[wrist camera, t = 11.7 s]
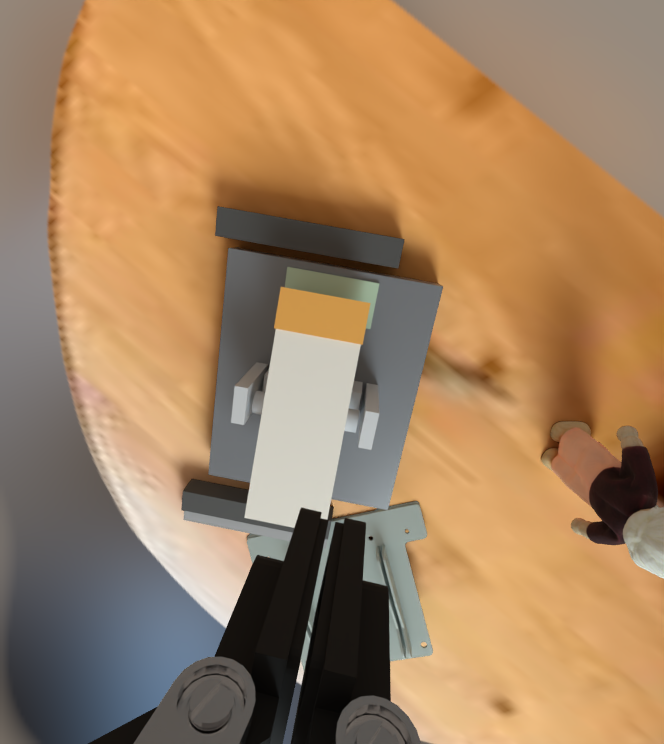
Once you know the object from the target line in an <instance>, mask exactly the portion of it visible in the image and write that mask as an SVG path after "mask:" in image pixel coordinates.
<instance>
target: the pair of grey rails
mask: <svg viewBox="0 0 664 744" xmlns="http://www.w3.org/2000/svg"><path fill="white" fill-rule="evenodd" d="M215 236H220V237H225V238H231V239H237V240H242V241H248V242H253V243H259V244H264V245H270V246H276V247H281V248H287V249H292V250H298V251H303V252H309V253H315V254H320V255H326V256H331V257H337V258H342V259H348V260H354V261H359V262H365V263H370V264H376V265H381V266H387V267H393V268H398V267H399V263H400V258H401V253H402V249H403V244H404V239H400V238H394V237H388V236H383V235H377V234H371V233H366V232H360V231H354V230H349V229H343V228H337V227H332V226H326V225H320V224H315V223H309V222H303V221H298V220H292V219H287V218H281V217H275V216H270V215H264V214H258V213H253V212H247V211H241V210H236V209H230V208H224V207H219V206H218V207H217V220H216V233H215ZM248 493H249V490H245V489H240V488H235V487H230V486H225V485H220V484H215V483H210V482H205V481H200V480H195V479H192V480H191V481H190V482H189V484H188V485H187V486H186V488H185V489H184V490H183V496H182V510H183V511H184V520H187V521H192V522H197V523H202V524H207V525H212V526H216V527H221V528H226V529H231V530H236V531H241V532H246V533H251V534H256V535H261V536H266V537H271V538H275V539H280V540H285V541H290V540H291V537H292V534H293V531H294V528H292V527H287V526H282V525H278V524H273V523H268V522H263V521H258V520H253V519H248V518H244V517H245V511H246V505H247V499H248ZM333 508H334V507H330V508H329V514H328V519H327V520H329V521H328V526H327V531H326V536H325V541H324V546H323V548H325V549H326V545H327V540H328V537H329V532H330V527H331V522H332V515H333Z"/></svg>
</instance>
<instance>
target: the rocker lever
mask: <svg viewBox="0 0 664 744" xmlns="http://www.w3.org/2000/svg"><path fill="white" fill-rule="evenodd" d="M370 304H371V303H367V302H362V301H356V300H351V299H346V298H340V297H335V296H329V295H324V294H318V293H313V292H307V291H302V290H296V289H291V288H285V287H281V288H280V294H279V300H278V306H277V313H276V319H275V325H274V328H275V329H276V331H275V337H274V343H273V349H272V355H271V361H270V367H269V373H268V379H267V385H266V391H265V392H262V391H256V393H255V396H254V399H253V404H252V413H255V414H260V415H261V421H260V427H259V433H258V439H257V445H256V451H255V457H254V463H253V469H252V475H251V481H250V487H249V493H248V499H247V505H246V511H245V517H244V518H248V519H253V520H258V521H263V522H268V523H273V524H278V525H282V526H287V527H292V528H294V527H295V524H296V521H297V518H298V515H299V512H300V509H301V507H302V508H306V509H310V510H315V511H319V512H322V514H321V518H322V519H328V514H329V508H330V503H331V498H332V493H333V487H334V482H335V477H336V472H337V467H338V461H339V456H340V451H341V446H342V440H343V435H344V431H348V432H353V433H356V429H357V424H358V419H359V412H360V410H356V409H351V408H349V404H350V399H351V393H352V388H353V383H354V378H355V372H356V367H357V362H358V357H359V352H360V346H361V345H363V340H364V335H365V330H366V325H367V319H368V314H369V309H370Z"/></svg>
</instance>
